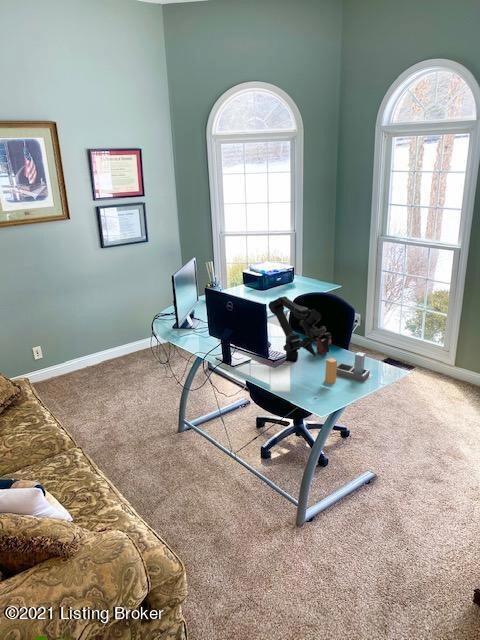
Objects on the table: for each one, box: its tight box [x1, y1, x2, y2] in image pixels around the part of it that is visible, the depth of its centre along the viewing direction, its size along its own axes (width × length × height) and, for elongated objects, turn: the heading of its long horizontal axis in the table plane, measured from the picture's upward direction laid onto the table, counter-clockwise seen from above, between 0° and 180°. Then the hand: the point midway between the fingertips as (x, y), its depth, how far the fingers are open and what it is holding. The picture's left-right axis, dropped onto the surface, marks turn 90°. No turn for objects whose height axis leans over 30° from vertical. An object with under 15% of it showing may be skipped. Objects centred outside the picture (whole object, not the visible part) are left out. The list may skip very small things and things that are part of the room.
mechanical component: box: [314, 334, 332, 356], centre depth 285 cm, size 12×10×10 cm
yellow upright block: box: [324, 357, 338, 384], centre depth 249 cm, size 5×5×13 cm
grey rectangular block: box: [353, 351, 366, 375], centre depth 254 cm, size 5×5×13 cm
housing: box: [336, 362, 373, 384], centre depth 258 cm, size 20×12×4 cm, turn 56°
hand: (321, 354), depth 253 cm, fingers open, 9 cm apart
